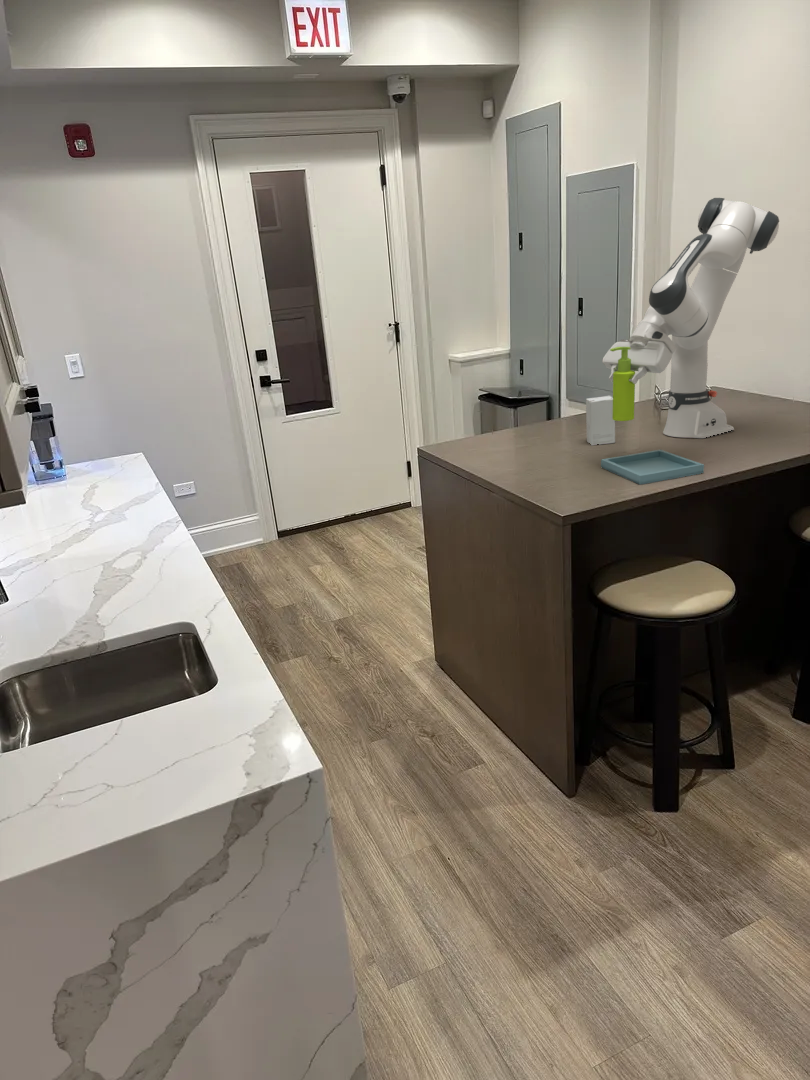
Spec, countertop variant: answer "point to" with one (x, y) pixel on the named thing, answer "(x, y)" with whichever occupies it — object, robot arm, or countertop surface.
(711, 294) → the robot arm
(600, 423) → the skincare box
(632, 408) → the soap dispenser
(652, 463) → the tray
